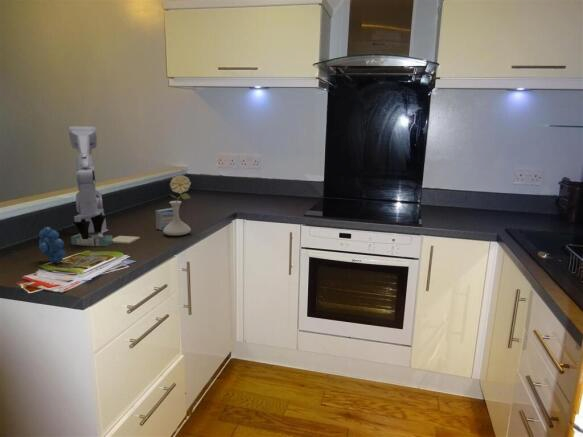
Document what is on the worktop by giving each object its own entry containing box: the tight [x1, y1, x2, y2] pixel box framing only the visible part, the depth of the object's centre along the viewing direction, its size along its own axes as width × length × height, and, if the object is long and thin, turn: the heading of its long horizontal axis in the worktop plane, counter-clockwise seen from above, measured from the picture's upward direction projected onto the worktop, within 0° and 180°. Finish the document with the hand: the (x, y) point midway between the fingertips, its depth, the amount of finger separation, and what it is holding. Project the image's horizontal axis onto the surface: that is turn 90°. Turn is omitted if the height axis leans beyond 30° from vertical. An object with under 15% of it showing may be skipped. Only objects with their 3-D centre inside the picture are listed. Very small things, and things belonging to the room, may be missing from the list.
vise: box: [70, 233, 114, 247], centre depth 163 cm, size 5×14×3 cm, turn 79°
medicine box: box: [154, 207, 173, 231], centre depth 187 cm, size 8×4×9 cm, turn 137°
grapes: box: [38, 226, 66, 263], centre depth 139 cm, size 12×7×12 cm, turn 62°
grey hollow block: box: [80, 232, 104, 247], centre depth 163 cm, size 6×6×4 cm
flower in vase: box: [162, 174, 192, 237], centre depth 175 cm, size 13×11×25 cm
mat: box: [112, 235, 141, 245], centre depth 169 cm, size 8×9×1 cm
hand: (91, 236), depth 163 cm, fingers open, 7 cm apart
